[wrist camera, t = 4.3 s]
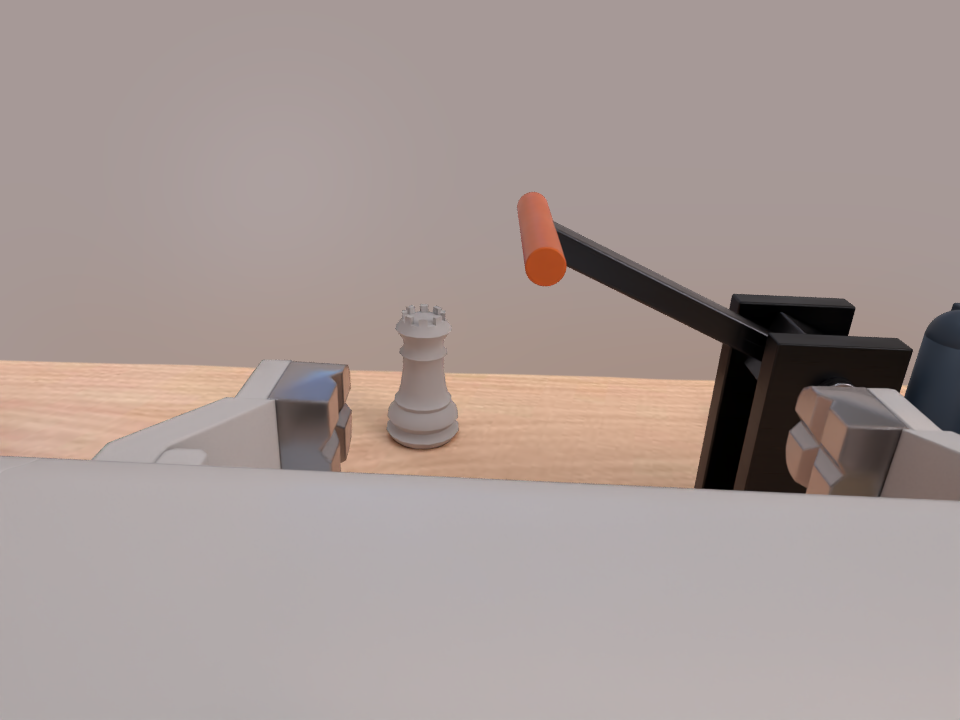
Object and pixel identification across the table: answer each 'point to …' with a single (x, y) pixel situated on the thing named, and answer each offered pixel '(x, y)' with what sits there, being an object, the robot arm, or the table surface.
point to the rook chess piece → (423, 382)
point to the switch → (638, 282)
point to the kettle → (939, 372)
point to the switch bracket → (785, 388)
